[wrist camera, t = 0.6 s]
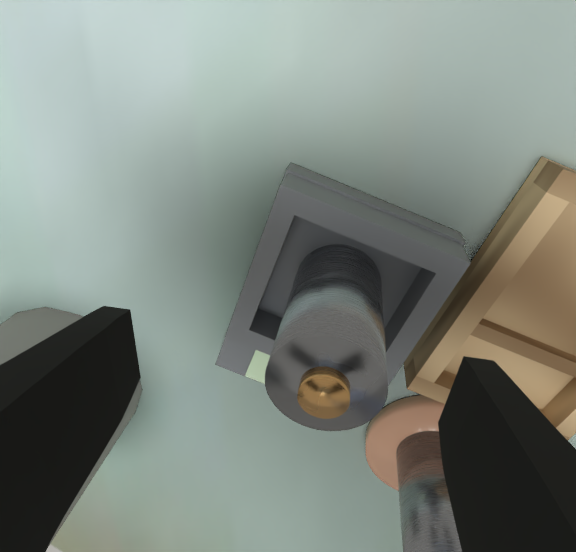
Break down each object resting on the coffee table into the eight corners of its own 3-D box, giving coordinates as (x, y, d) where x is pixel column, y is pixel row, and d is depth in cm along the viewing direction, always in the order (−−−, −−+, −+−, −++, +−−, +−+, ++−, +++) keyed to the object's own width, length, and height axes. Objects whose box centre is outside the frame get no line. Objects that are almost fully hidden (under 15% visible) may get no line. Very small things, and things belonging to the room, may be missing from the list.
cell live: (358, 330, 18) (355, 460, 12) (284, 300, 18) (245, 416, 12) (396, 264, 16) (412, 379, 10) (314, 230, 16) (285, 328, 10)
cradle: (351, 403, 21) (350, 445, 19) (221, 351, 21) (203, 387, 19) (459, 232, 16) (475, 261, 14) (291, 162, 16) (278, 180, 14)
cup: (48, 431, 26) (-112, 619, 17) (-30, 321, 23) (-275, 487, 14) (165, 419, 24) (49, 629, 15) (98, 296, 20) (-101, 475, 12)
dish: (453, 499, 23) (456, 513, 22) (345, 457, 23) (345, 469, 22) (525, 426, 20) (531, 439, 19) (401, 376, 20) (402, 387, 19)
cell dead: (445, 487, 22) (473, 643, 16) (384, 463, 21) (390, 610, 16) (482, 447, 20) (529, 604, 14) (416, 421, 20) (437, 568, 14)
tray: (542, 417, 19) (557, 449, 18) (403, 361, 19) (406, 388, 18) (725, 233, 15) (768, 255, 13) (541, 156, 14) (563, 168, 13)
